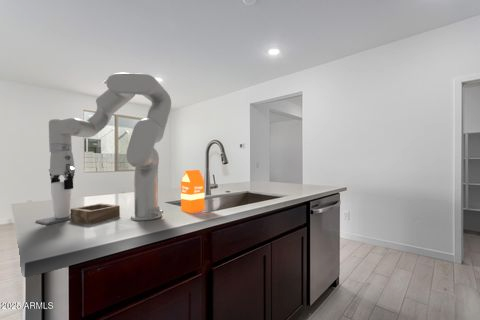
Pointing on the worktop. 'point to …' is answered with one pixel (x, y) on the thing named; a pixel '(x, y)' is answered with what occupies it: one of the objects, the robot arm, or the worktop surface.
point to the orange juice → (192, 191)
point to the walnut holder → (95, 213)
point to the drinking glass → (60, 200)
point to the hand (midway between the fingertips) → (62, 188)
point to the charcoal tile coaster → (52, 220)
